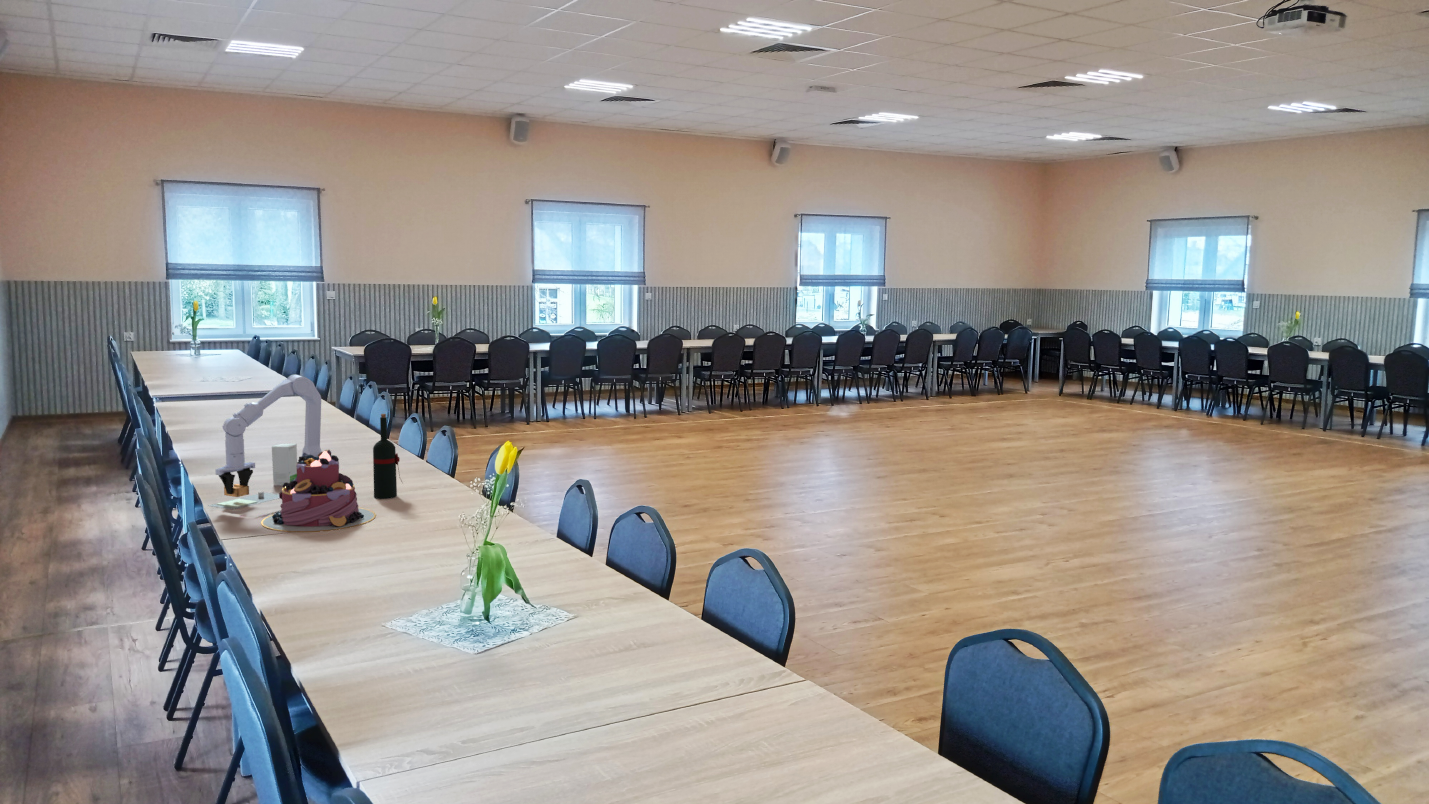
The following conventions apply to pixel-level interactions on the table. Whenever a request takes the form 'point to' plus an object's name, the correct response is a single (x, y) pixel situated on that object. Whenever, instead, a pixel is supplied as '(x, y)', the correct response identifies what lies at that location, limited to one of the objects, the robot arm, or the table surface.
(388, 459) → the wine bottle
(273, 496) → the peg board
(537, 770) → the table surface
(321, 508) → the wedding cake
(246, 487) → the c link
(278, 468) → the skincare box
